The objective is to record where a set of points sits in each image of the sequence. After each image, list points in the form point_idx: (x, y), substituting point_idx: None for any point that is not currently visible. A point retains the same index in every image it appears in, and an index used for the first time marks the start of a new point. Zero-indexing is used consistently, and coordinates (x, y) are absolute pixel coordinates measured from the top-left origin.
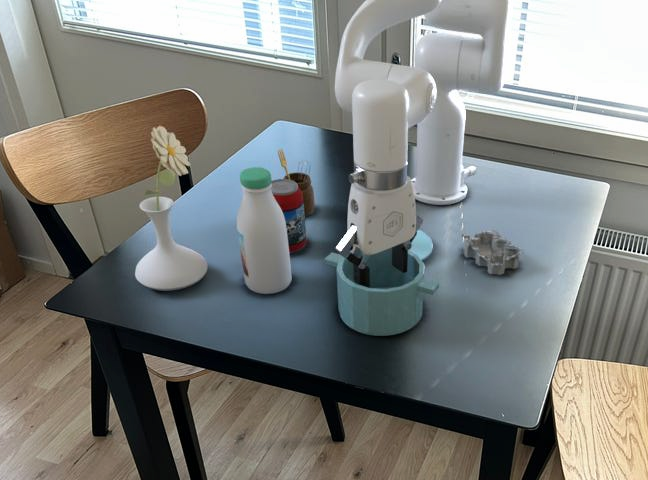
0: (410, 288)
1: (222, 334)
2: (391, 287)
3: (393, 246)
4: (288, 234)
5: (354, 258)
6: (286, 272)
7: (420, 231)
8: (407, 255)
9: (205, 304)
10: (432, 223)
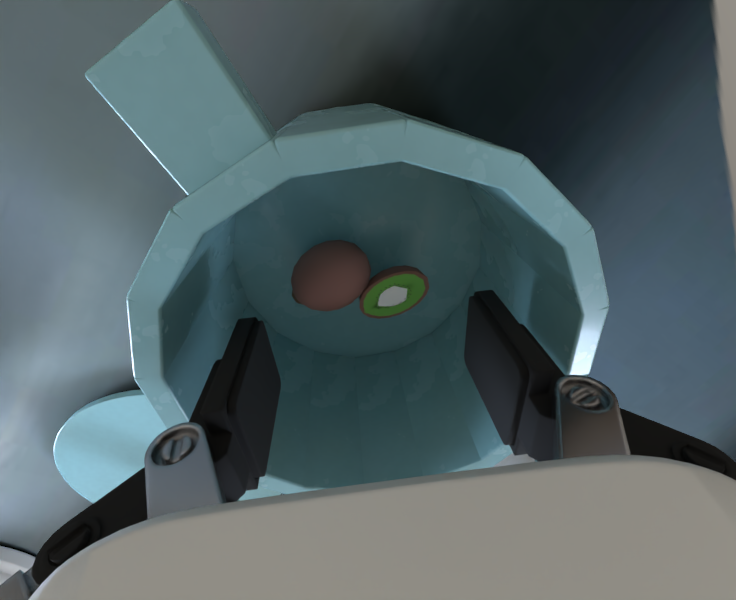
0: (337, 126)
1: (709, 355)
2: (315, 299)
3: (385, 488)
4: None
5: (702, 460)
6: (511, 464)
7: (76, 487)
8: (211, 389)
9: None
10: (30, 499)
